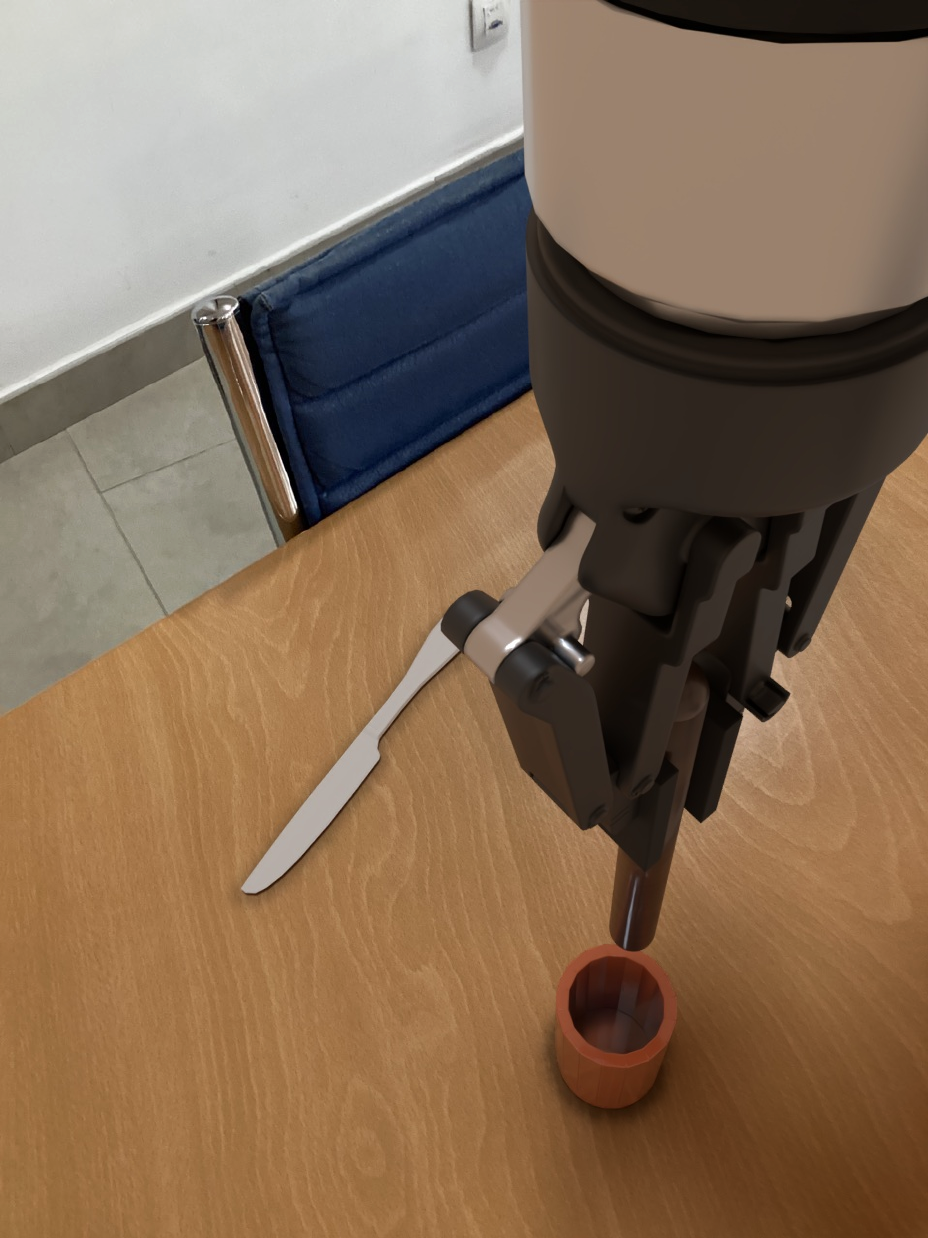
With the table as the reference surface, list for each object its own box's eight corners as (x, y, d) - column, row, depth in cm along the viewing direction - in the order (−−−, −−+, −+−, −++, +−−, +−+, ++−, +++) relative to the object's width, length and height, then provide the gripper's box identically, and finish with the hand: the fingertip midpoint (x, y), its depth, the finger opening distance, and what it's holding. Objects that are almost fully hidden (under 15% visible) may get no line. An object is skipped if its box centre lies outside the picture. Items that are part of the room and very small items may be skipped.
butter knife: (485, 622, 74) (450, 605, 75) (263, 905, 63) (227, 879, 64) (485, 626, 74) (451, 608, 75) (265, 907, 64) (229, 882, 65)
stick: (663, 937, 47) (729, 674, 29) (630, 967, 46) (676, 717, 28) (631, 904, 48) (675, 628, 30) (598, 933, 47) (623, 669, 29)
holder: (681, 1060, 57) (702, 1011, 49) (605, 1133, 56) (613, 1094, 47) (609, 980, 60) (618, 920, 52) (535, 1046, 58) (531, 996, 50)
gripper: (872, -43, 21) (722, 624, 40) (241, 301, 16) (413, 871, 36) (1242, 97, 18) (884, 756, 37) (571, 590, 13) (563, 1050, 32)
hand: (652, 812), depth 36 cm, fingers closed on stick, 2 cm apart
